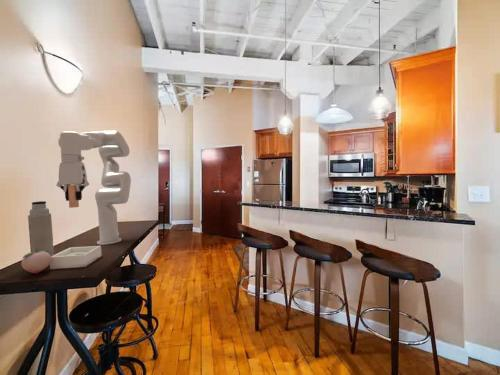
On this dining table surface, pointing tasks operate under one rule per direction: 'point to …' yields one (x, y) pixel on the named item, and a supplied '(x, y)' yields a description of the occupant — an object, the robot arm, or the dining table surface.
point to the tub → (75, 257)
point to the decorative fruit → (36, 261)
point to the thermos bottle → (40, 228)
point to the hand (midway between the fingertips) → (73, 199)
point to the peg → (72, 196)
